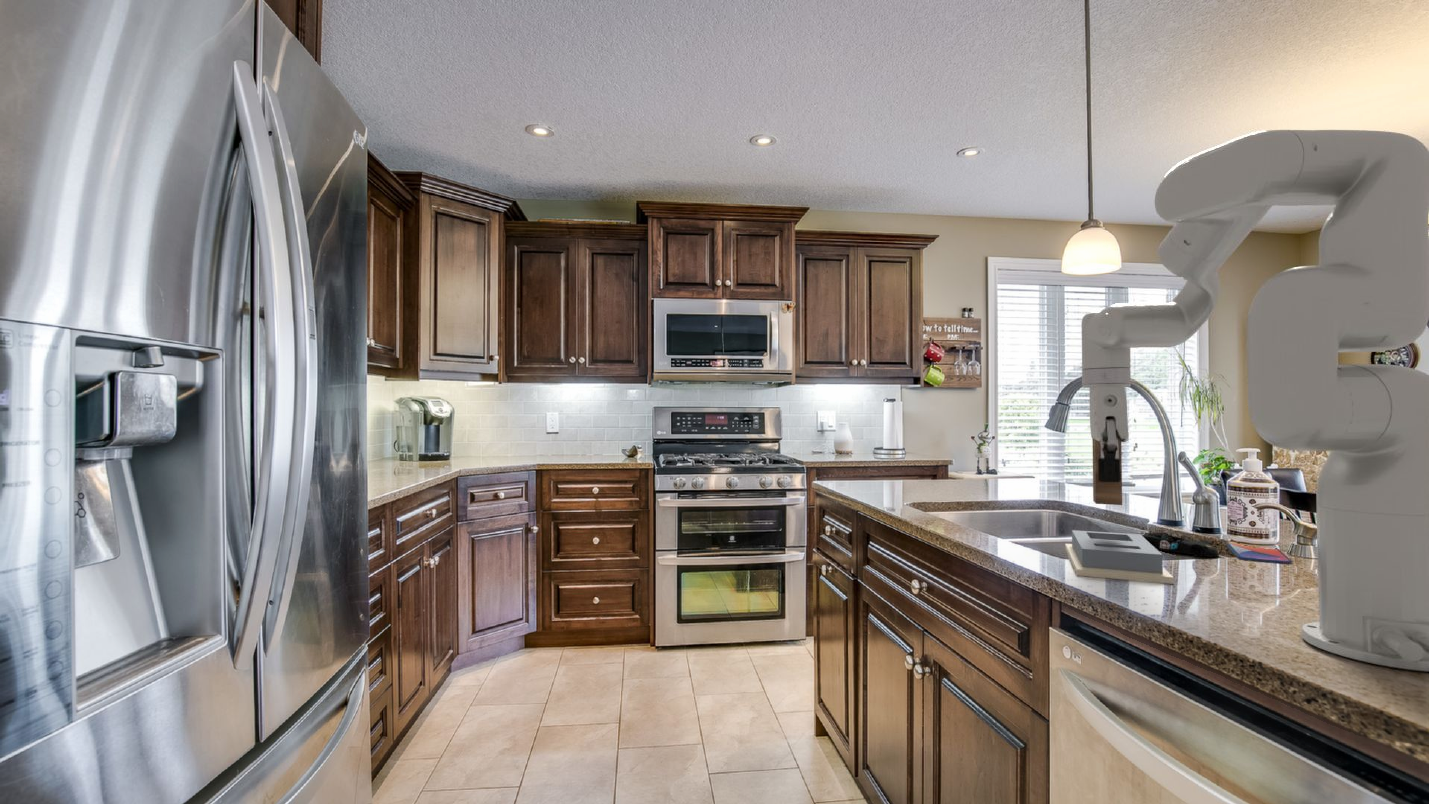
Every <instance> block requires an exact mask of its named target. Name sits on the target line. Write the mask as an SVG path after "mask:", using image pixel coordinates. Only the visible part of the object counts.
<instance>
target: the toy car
mask: <svg viewBox="0 0 1429 804" xmlns="http://www.w3.org/2000/svg"><path fill="white" fill-rule="evenodd" d="M1141 535H1142V536H1143V537H1144V538H1145V539H1146V540H1147V541H1148V542H1149V543H1150V544H1151V545H1152V546H1154V547H1155V548H1156V549H1157V550H1158V551H1161V552H1162V551H1163V552H1170V553H1171V552H1172V553H1180V554H1186V555H1193V556H1195V557H1201V556H1203V557H1210V558H1211V557H1213V558H1214V557H1218V556H1220V554H1219V553H1218V552H1219V550H1218V549H1217V547H1216V546H1214V545H1213V543H1212V542H1210V541H1208V540H1205V539H1204V540H1203V539H1201V540H1193V539H1192V538H1190V537H1189V536H1187V535H1184V536H1181V537H1177V536H1174V535H1171V534H1170V535H1169V534H1168V532H1162V531H1161V532H1144V533H1143V534H1141ZM1187 538H1188V539H1187Z"/></svg>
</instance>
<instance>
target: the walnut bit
mask: <svg viewBox="0 0 1429 804" xmlns="http://www.w3.org/2000/svg"><path fill="white" fill-rule="evenodd" d="M1091 439H1092V502H1093V503H1094V504H1095V505H1110V506H1111V505H1113V506H1116V505H1117V506H1122V505H1123V475H1122V474H1123V467H1122V466H1123V464H1122V463H1123V462H1122V459H1123V458H1122V455H1123V452H1122V442H1121V438H1119V436H1118V448H1119V460H1120V481H1119V482H1101V481H1099V479H1098V459H1100V444H1099V443H1100V442H1098V441H1097V440H1095V439H1093V438H1092V437H1091ZM1103 441H1107V438H1103ZM1104 446H1105V445H1104Z"/></svg>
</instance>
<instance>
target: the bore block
mask: <svg viewBox="0 0 1429 804" xmlns="http://www.w3.org/2000/svg"><path fill="white" fill-rule="evenodd" d="M1142 535H1143V534H1140V533H1139V534H1137V533H1123V532H1121V533H1120V532H1107V531H1088V530H1076V529H1075V530H1074V529H1071V541H1072V542H1071V543H1065V544H1064V545H1065V546H1064V547H1065V551H1066V553H1067V556H1068V558H1069V561H1070V562H1071V565H1072V568H1073V570H1074V572H1075V575H1076V576H1077V577H1078V576H1079V577H1080V576H1081V577H1088V578H1089V577H1092V578H1102V579H1103V578H1104V579H1113V580H1116V579H1117V580H1125V581H1137V582H1149V583H1160V584H1170V585H1172V584H1173V585H1174V583H1175V582H1174V580H1175V579H1174V576H1173V575H1172V574H1171V573H1170V572H1169V571H1168V570H1166V568H1165V567H1164V566H1163V553H1161V552H1160V550H1158V549H1156V548H1155V547H1154V546H1152V545H1151V544H1150V543H1149V542H1148V541H1147V540H1146V539H1145V538H1144V537H1143V536H1142Z"/></svg>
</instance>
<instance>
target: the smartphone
mask: <svg viewBox="0 0 1429 804" xmlns="http://www.w3.org/2000/svg"><path fill="white" fill-rule="evenodd" d="M1230 541H1231V540H1226V541H1225V546H1226V547H1227V549H1228V550H1230V552H1231V553H1232V554H1233V555H1234V556H1235V557H1236V558H1237V560H1238V559H1239V560H1242V561H1248V560H1252V561H1251V562H1260V563H1261V562H1262V563H1263V562H1264V563H1265V562H1267V563H1274V564H1285V565H1292V564H1293V563H1292V559H1290V557H1288V556H1287V555H1286V554H1285V553H1284V552H1282V551H1281V550H1280V549H1279V548H1278V547H1277V548H1275V549H1264V548H1254V547H1249V546H1244V545H1240V544H1237V543H1233V542H1230ZM1291 563H1292V564H1291Z"/></svg>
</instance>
